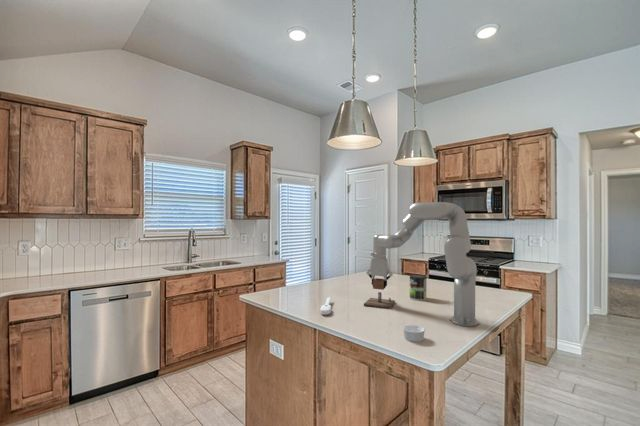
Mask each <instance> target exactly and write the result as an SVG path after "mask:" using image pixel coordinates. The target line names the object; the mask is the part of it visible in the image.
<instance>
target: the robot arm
mask: <svg viewBox="0 0 640 426" xmlns="http://www.w3.org/2000/svg"><path fill="white" fill-rule="evenodd" d="M408 212H409V213H408V214H407V215H406V216H405V217H404V218H403V220H402V222H401V223H402V227H401V228H400V229H399V230H398V231H397V232H396V233H395V234H389V235H385V234H374V235H373V240H372V241H373V244H372V245H373V246H372V247H373V248H372V251H373V252H372V253H370V256H371V260H370V268H369V269H368V270H367V271H366V274H367V276H368V277H369V278H370V280H371V285H372V286H373V280H374V279H375V276H377V277H378V276H379V277H383V279H385V280H384V288H385V289H386V288H387V286H388V280H389V279H391V278H392V277H393V275H394V274H393V273H392V272H391V271H390V270H389V269H390V268H389V261H388V258H387V249H388V250H389V249H397V248H400V247H402V246H403V245H404V244H405V243H406V242H408V241H409V240H410V239H411V237H412V236H413V234H414V232H415V231H416V230H417V229H418V228H419V227H420V226H421V225H422V224H423V223H424V222H425V221H427V220H448V222H449V223H448V226H449V227H448V229H449V234H450V236H449V237H447V239H446V240H445V242H444V246H443V247H444V256H445V263H446V264H445V265H446V269H447V272H448V274H449V275H450V277H451V278H453V279H454V281H453V316H451V317H450V322H451V323H452V324H455V325H458V326H462V327H477V326H478V325H480V321H479V320H478V319H476V281H477V272H478V271H477V264H476V262H475V260H473V259H472V258H471V257H468V256H467V253H469V252H470V251H471V249H472V242H471V237H470V231H469V230H470V229H469V226H468V225H469V224H468V219H467V214H466V213H465V211H464V209H463V208H462V207H461V206H459V205H458V204H455V203H451V202H446V201H445V202H443V201H432V202H430V201H427V202H422V201H421V202H419V201H418V202H415V203H414V202H413V203H412V204H411V205H410V207H409V209H408Z"/></svg>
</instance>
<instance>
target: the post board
mask: <svg viewBox="0 0 640 426" xmlns="http://www.w3.org/2000/svg"><path fill="white" fill-rule="evenodd" d="M395 304H396V300H395V299H393V300H392V299H391V298H390V297H389V298H388V299H384V298H382V292H379V291H378V292H377V297H370V298H369V299H368V300H366V301H365V302H364V303H363V306H364V307H370V308H377V309H386V310H391V308H392V307H393V306H394V305H395Z"/></svg>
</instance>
